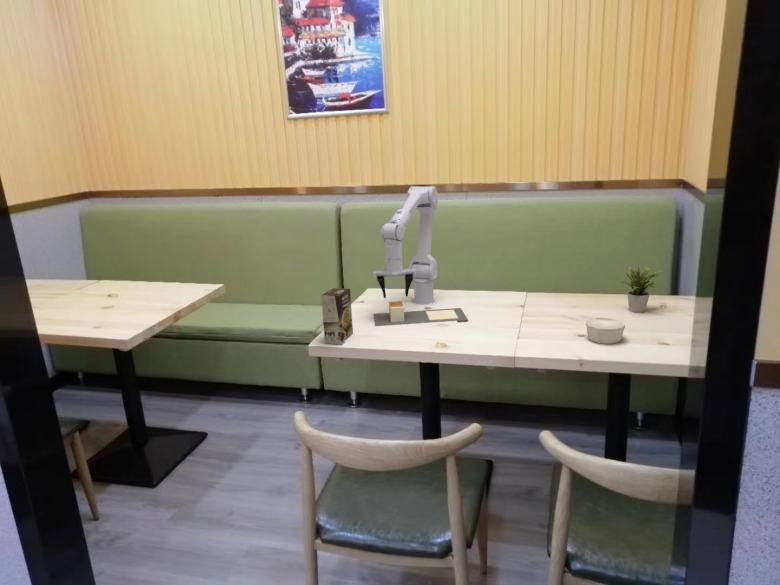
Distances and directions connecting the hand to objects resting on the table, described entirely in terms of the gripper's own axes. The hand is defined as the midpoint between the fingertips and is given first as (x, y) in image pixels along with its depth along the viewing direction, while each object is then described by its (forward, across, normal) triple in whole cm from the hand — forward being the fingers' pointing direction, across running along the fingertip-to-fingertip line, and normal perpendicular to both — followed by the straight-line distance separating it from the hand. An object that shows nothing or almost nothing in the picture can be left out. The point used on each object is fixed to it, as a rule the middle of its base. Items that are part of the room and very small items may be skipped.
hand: (395, 296), depth 203 cm
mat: (+9, +8, 0) cm, 12 cm away
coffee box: (+9, -20, -16) cm, 27 cm away
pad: (+9, +16, 0) cm, 18 cm away
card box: (+8, 0, 0) cm, 8 cm away
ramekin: (+9, +61, -32) cm, 69 cm away
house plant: (+9, +83, -9) cm, 84 cm away
